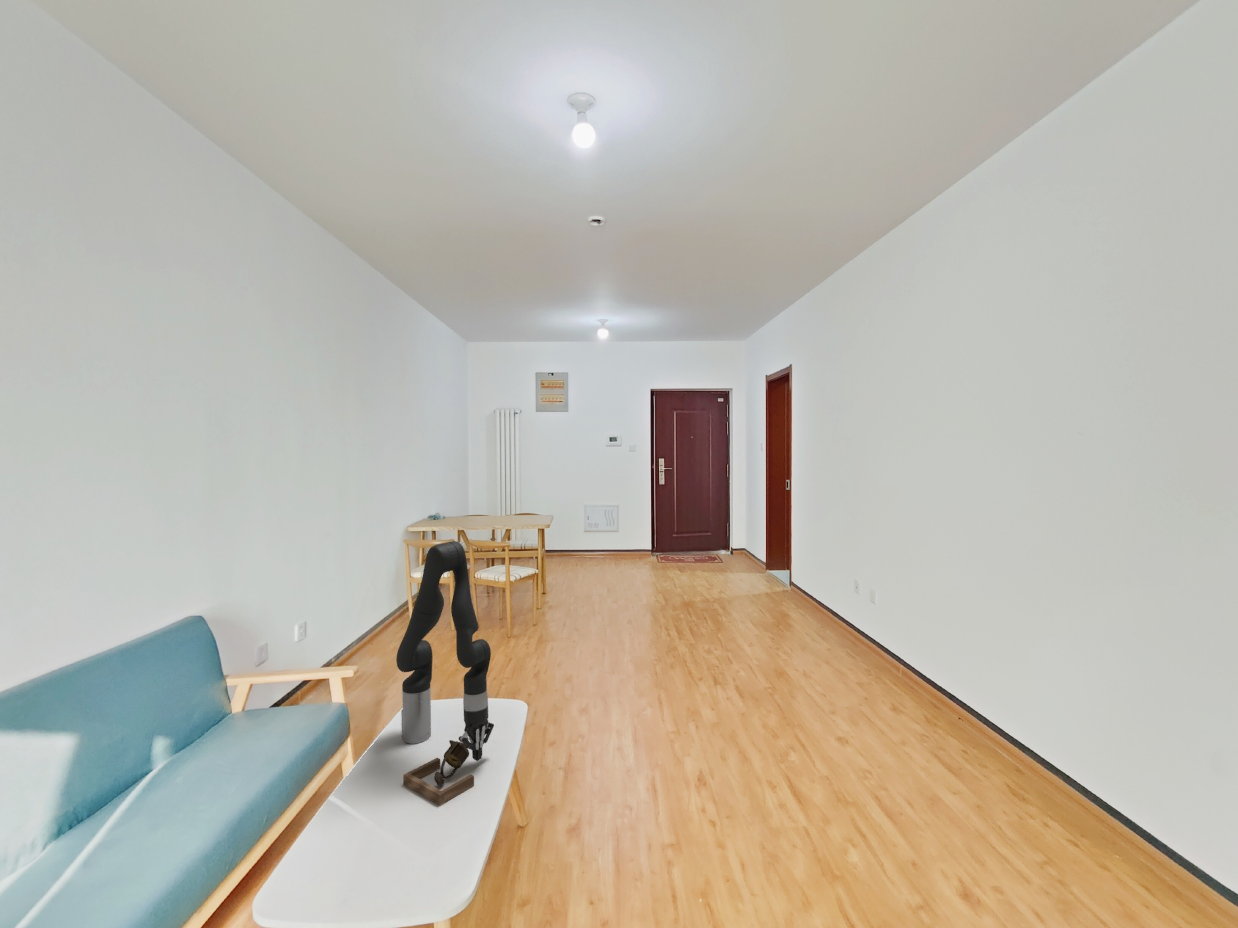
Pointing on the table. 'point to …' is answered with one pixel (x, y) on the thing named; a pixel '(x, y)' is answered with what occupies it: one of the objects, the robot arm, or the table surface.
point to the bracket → (431, 792)
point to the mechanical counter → (452, 760)
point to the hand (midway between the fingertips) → (477, 759)
